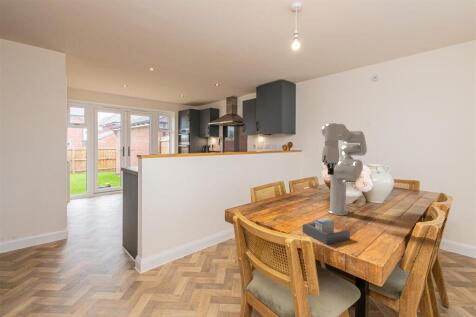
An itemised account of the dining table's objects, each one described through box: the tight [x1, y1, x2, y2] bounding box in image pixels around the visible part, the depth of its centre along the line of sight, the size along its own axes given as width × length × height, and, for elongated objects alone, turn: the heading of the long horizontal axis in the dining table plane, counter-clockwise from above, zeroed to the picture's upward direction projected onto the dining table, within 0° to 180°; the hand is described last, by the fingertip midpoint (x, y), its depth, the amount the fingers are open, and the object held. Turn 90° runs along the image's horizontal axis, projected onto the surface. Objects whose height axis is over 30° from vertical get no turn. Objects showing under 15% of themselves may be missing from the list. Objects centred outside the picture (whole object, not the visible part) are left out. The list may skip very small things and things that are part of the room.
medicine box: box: [314, 217, 335, 234], centre depth 110 cm, size 8×4×9 cm, turn 115°
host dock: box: [302, 222, 351, 246], centre depth 112 cm, size 15×16×5 cm
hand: (330, 174), depth 137 cm, fingers closed
